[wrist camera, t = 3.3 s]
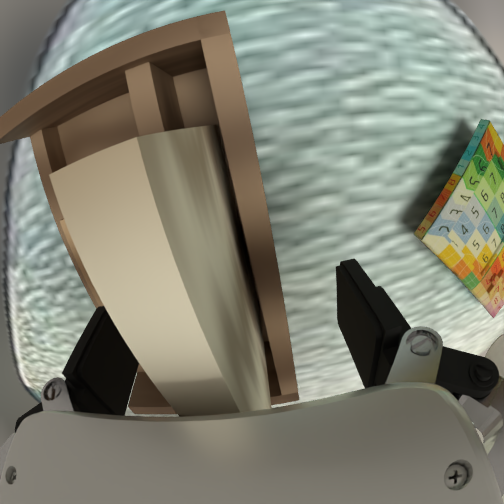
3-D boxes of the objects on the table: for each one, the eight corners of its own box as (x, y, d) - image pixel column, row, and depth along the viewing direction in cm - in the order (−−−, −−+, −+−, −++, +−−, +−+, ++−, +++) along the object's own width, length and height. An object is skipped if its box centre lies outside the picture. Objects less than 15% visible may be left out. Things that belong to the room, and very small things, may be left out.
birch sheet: (259, 308, 22) (280, 484, 9) (241, 312, 22) (249, 487, 9) (217, 124, 15) (136, 137, 3) (193, 130, 15) (49, 174, 3)
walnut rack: (286, 338, 25) (299, 400, 19) (149, 357, 25) (134, 413, 19) (229, 49, 14) (225, 10, 8) (50, 118, 15) (-13, 128, 8)
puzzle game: (497, 322, 22) (427, 245, 16) (477, 300, 26) (396, 220, 20) (546, 245, 17) (497, 122, 12) (523, 229, 22) (460, 116, 16)
